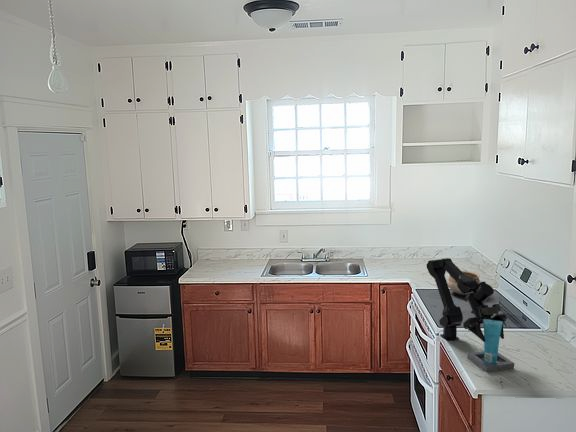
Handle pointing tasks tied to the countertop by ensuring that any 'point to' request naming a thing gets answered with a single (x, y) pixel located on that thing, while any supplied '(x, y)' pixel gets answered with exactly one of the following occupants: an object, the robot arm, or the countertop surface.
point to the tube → (491, 340)
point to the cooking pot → (453, 284)
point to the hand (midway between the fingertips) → (494, 340)
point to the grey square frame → (503, 365)
